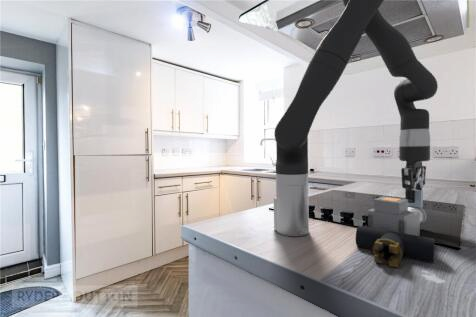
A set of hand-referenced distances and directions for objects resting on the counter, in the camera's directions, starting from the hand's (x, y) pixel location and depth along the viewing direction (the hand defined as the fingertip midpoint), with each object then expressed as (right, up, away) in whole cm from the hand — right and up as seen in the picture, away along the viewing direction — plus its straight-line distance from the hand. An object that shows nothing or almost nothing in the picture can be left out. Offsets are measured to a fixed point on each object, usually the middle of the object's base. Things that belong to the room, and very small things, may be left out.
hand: (413, 200), depth 75 cm
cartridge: (-4, -7, -3) cm, 9 cm away
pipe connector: (-19, -10, -19) cm, 29 cm away
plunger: (-14, 0, -11) cm, 18 cm away
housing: (-12, -9, -10) cm, 18 cm away
